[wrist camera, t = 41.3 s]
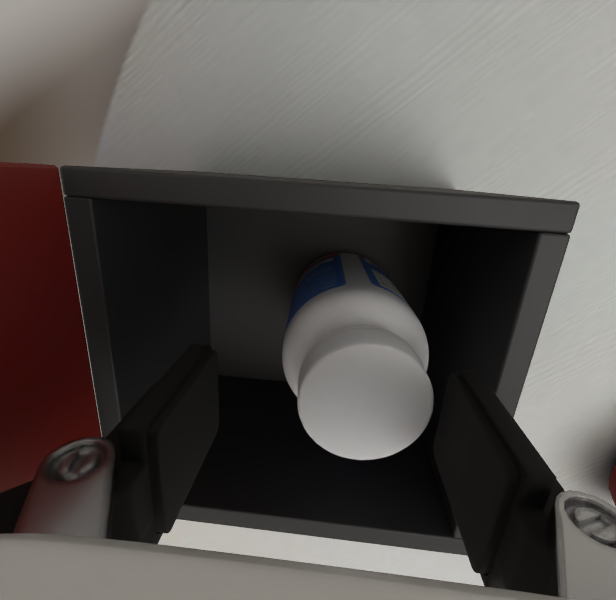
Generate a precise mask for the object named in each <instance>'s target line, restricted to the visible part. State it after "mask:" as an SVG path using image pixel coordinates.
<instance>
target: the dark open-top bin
mask: <svg viewBox="0 0 616 600" xmlns="http://www.w3.org/2000/svg"><path fill="white" fill-rule="evenodd" d="M60 171H61V178H62V184H63V191H64V194H65V195H67V196H66V197H65V198H64V200H65V206H66V213H67V219H68V225H69V231H70V237H71V243H72V250H73V256H74V262H75V269H76V275H77V281H78V287H79V293H80V300H81V306H82V312H83V319H84V325H85V331H86V337H87V344H88V350H89V356H90V362H91V369H92V375H93V381H94V387H95V393H96V400H97V406H98V412H99V418H100V425H101V431H102V437H103V438H106V437H107V436H108V435H109V433H110V432H111V431H112V430H113V429H114V428H115V427H116V426H117V424H118V423H119V422H120V421H121V420H122V419H123V418H124V417H125V416H126V414H127V413H128V412H129V411H130V410H131V409H132V408H133V407H134V405H135V404H136V403H137V402H138V401H139V400H140V399H141V398H142V396H143V395H144V394H145V393H146V392H147V391H148V390H149V389H150V388H151V386H152V385H154V384H155V383H156V382H158V381H159V380H160V379H161V378H162V377H163V376H164V375H165V374H166V372H167V371H168V370H169V369H170V368H171V367H172V366H173V364H174V363H175V362H176V361H177V360H178V359H179V358H180V357H181V355H182V354H183V353H184V352H185V351H186V350H187V349H188V347H189V346H190V345H191V344H201V345H210V346H211V347H212V350H216V351H217V355H218V394H219V427H218V431H217V434H216V436H215V438H214V440H213V442H212V444H211V447H210V449H209V451H208V453H207V455H206V457H205V459H204V461H203V463H202V465H201V468H200V470H199V472H198V474H197V476H196V478H195V480H194V482H193V484H192V487H191V489H190V491H189V493H188V495H187V497H186V499H185V501H184V503H183V506H182V508H181V510H180V512H179V514H178V516H177V518H176V519H181V520H189V521H197V522H205V523H213V524H221V525H229V526H237V527H245V528H253V529H261V530H269V531H277V532H285V533H293V534H301V535H309V536H317V537H325V538H333V539H341V540H348V541H356V542H364V543H372V544H380V545H388V546H396V547H404V548H412V549H420V550H428V551H436V552H444V553H452V554H460V555H467V552H466V549H465V546H464V543H463V540H462V537H461V534H460V531H459V528H458V525H457V523H456V520H455V517H454V514H453V511H452V508H451V505H450V502H449V499H448V496H447V493H446V491H445V488H444V485H443V482H442V479H441V476H440V473H439V470H438V467H437V464H436V461H435V459H434V454H433V445H434V440H435V436H436V432H437V427H438V423H439V419H440V414H441V410H442V406H443V401H444V397H445V393H446V388H447V384H448V379H449V376H450V374H455V373H456V371H457V370H469V371H478V372H480V373H481V375H482V376H483V378H484V379H485V380H486V382H487V383H488V384H489V386H490V387H491V389H492V390H493V391H494V393H495V394H496V395H497V397H498V398H499V400H500V401H501V402H502V404H503V405H504V406H505V408H506V409H507V411H508V412H509V413H510V415H511V416H512V417H514V414H515V411H516V408H517V404H518V401H519V398H520V395H521V392H522V389H523V385H524V382H525V379H526V376H527V373H528V369H529V366H530V363H531V360H532V357H533V353H534V350H535V347H536V344H537V341H538V338H539V334H540V331H541V328H542V325H543V322H544V318H545V315H546V312H547V309H548V306H549V303H550V299H551V296H552V293H553V290H554V287H555V283H556V280H557V277H558V274H559V271H560V267H561V264H562V261H563V258H564V255H565V252H566V248H567V245H568V242H569V239H570V235H568V234H567V233H570V232H571V231H572V229H573V225H574V222H575V219H576V216H577V213H578V209H579V206H580V205H579V203H578V202H575V201H565V200H555V199H545V198H535V197H525V196H514V195H504V194H494V193H484V192H474V191H464V190H453V189H439V188H424V187H410V186H396V185H381V184H367V183H353V182H339V181H324V180H310V179H296V178H281V177H267V176H253V175H238V174H224V173H210V172H195V171H173V170H151V169H129V168H107V167H84V166H62V167H60ZM334 253H353V254H357V255H361V256H363V257H366V258H368V259H369V260H371V261H373V262H374V263H376V264H377V265H378V266H379V267H380V268H381V269H382V270H383V271H384V272H385V273H386V275H387V276H388V277H389V279H390V280H391V281H392V283H393V284H394V285H395V287H396V288H397V290H398V291H399V292H400V294H401V295H402V296H403V298H404V299H405V300H406V302H407V303H408V305H409V306H410V307H411V309H412V310H413V312H414V313H415V315H416V316H417V318H418V320H419V321H420V323H421V325H422V327H423V329H424V332H425V334H426V338H427V342H428V349H429V360H428V367H427V371H426V373H427V375H428V377H429V379H430V382H431V385H432V389H433V395H434V405H433V412H432V415H431V418H430V420H429V423H428V425H427V427H426V428H425V430H424V431H423V432H422V434H421V435H420V436H419V437H418V438H417V439H416V440H415V441H414V442H413V443H412V444H410V445H409V446H408V447H406V448H404V449H403V450H401V451H399V452H397V453H395V454H393V455H390V456H387V457H383V458H379V459H372V460H356V459H349V458H345V457H341V456H338V455H335V454H333V453H330V452H329V451H327V450H325V449H324V448H322V447H321V446H320V445H318V444H317V443H316V442H315V441H314V440H313V439H312V438H311V437H310V436H309V435H308V433H307V432H306V430H305V429H304V427H303V424H302V422H301V420H300V417H299V413H298V407H297V396H296V395H295V394H294V392H293V391H292V389H291V388H290V386H289V384H288V382H287V379H286V377H285V373H284V369H283V363H282V349H283V341H284V335H285V331H286V326H287V321H288V317H289V312H290V308H291V303H292V298H293V294H294V290H295V287H296V284H297V282H298V280H299V278H300V277H301V275H302V274H303V272H304V271H305V270H306V269H307V268H308V267H309V266H310V265H311V264H312V263H314V262H315V261H317V260H318V259H320V258H322V257H324V256H327V255H330V254H334Z"/></svg>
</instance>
